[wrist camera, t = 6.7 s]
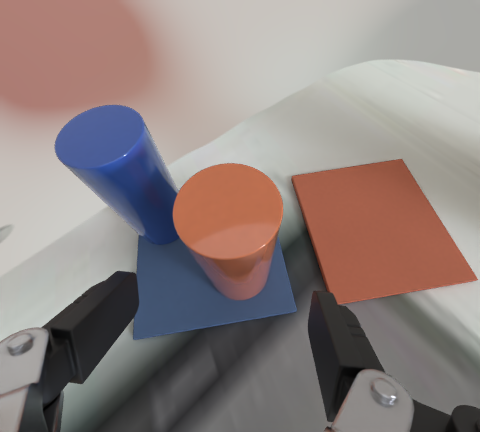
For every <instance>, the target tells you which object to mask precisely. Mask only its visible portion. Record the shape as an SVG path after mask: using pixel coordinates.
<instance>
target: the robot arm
mask: <svg viewBox="0 0 480 432" xmlns="http://www.w3.org/2000/svg"><path fill="white" fill-rule="evenodd" d="M138 307H139V294H138V284H137V276H136V274H135V273H133V272H123V271H117V272H115V273H114V274H113V275H111V276H110V277H109V278H108V279H107V280H106V281H102V282H100V283H98V284H96V285H94V286H92V287H91V288H89V289H88V290H87V291H86V292H85V293H83V294H82V296H80V297H78V298H77V299H76V300H75V301H74V302H73V303H71V304H70V305H69V306H67V307H66V308H65V309H64V310H63V311H61V312H60V313H59V314H58V315H56V316H55V317H54V318H53V319H51V320H50V321H49V322H48V323H47V324H45V325H44V326H43V327H42V328H29V329H25V330H22V331H19V332H17V333H15V334H12V335H10V336H9V337H7V338H5V339H4V340H2V341H1V342H0V432H60V428H61V418H62V409H63V399H64V393H63V389H64V387H65V386H66V385H67V384H68V383H69V382H71V383H78V384H83V383H84V381H85V380H86V379H87V378H88V376H89V375H90V374H91V372H92V371H93V370H94V368H95V367H96V366H97V365H98V363H99V362H100V361H101V359H102V358H103V357H104V355H105V354H106V353H107V351H108V350H109V349H110V348H111V346H112V345H113V344H114V342H115V341H116V340H117V338H118V337H119V336H120V335H121V333H122V332H123V331H124V329H125V328H126V327H127V325H128V324H129V323H130V321H131V320H132V319H133V318H134V316H135V315H136V313H137V311H138ZM308 334H309V339H310V344H311V348H312V353H313V357H314V362H315V366H316V371H317V376H318V380H319V385H320V389H321V394H322V398H323V403H324V407H325V412H326V416H327V421H329V422H333V423H332V425H331V427H326V428H325V430H324V432H480V409H478V408H476V407H472V406H467V405H460V406H457V407H456V408H454V410H453V412H452V414H451V415H448V414H446V413H443V412H441V411H438V410H436V409H433V408H431V407H429V406H426V405H424V404H421V403H419V402H417V401H415V400H413V399H412V398H411V396H410V394H409V393H408V391H407V390H406V389H405V388H404V387H403V385H401V384H400V383H399V382H398V381H397V380H396V379H394V378H393V377H391V376H390V375H388V374H386V373H385V371H384V369H383V367H382V365H381V364H380V362H379V360H378V358H377V356H376V354H375V352H374V350H373V348H372V346H371V344H370V342H369V340H368V339H367V337H366V335H365V333H364V331H363V329H362V328H361V325H360V323H359V321H358V319H357V317H356V315H354V314H353V313H352V312H351V311H350V310H349V309H348V308H347V307H346V306H339V305H338V303H337V301H336V299H335V297H334V294H333V293H332V292H323V291H313V294H312V300H311V306H310V313H309V319H308Z"/></svg>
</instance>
